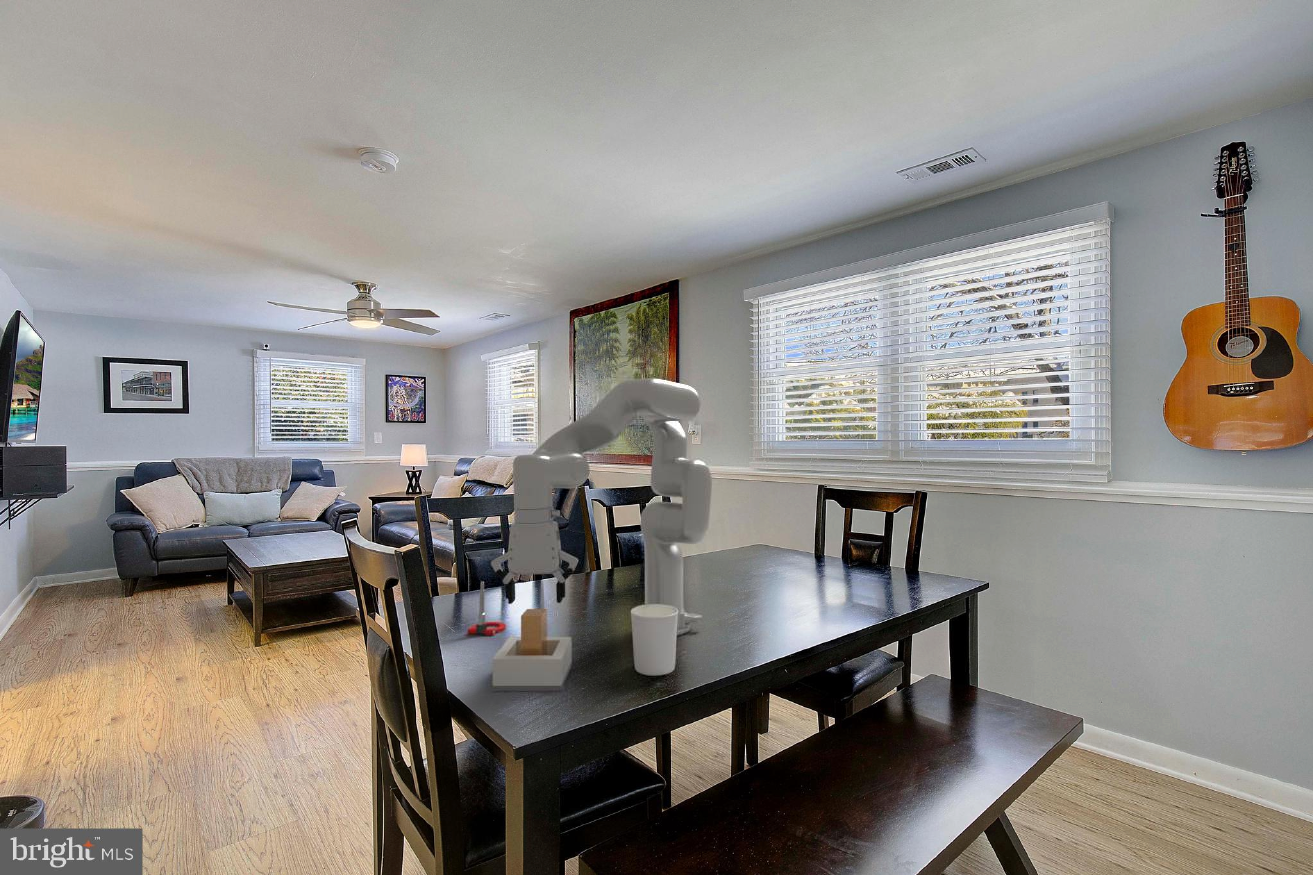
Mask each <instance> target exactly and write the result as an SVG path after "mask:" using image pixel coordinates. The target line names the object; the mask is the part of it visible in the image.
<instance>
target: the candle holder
mask: <svg viewBox="0 0 1313 875" xmlns="http://www.w3.org/2000/svg"><path fill="white" fill-rule="evenodd" d="M630 615H631V616H630V617H631V632H632V648H633V649H632V650H633V662H634V669H635V671H636V672H638V673H639V674H642V675H645V676H663V675H668V674H670V673H672V672H673V671H674V670H675V668H676V659H677V658H676V657H677V656H676V655H677V637H678V635H677V617H678V610H677V608H675V607H673V606H669V605H662V604H648V605H645V604H641V605H637V606H634V607H633V608H632V609H631V610H630Z"/></svg>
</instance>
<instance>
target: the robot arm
mask: <svg viewBox="0 0 1313 875" xmlns="http://www.w3.org/2000/svg"><path fill="white" fill-rule="evenodd" d="M700 408H701V399H700V396H699V394H698V392H697V391H696V389H694V388H693V387H691V386H690V385H687V384H683V383H679V382H674V381H671V380H666V379H661V378H653V377H650V378H649V377H648V378H638V379H627V380H623V381H621V382H619V383H617V384H616V385H615V386H614V387H613V388H612V389H611V390H610V391H609V392H608V393H607V394H606V395H605V396H604V397H603V398H602V399H601V400H600V401H599V402H598V403H597V404H596V405H595V406H594V407H593V408H592V409H591V410H590V412H588V413H587V414H586V415H585V416H582V417H581V418H578V419H577V420H575V421H573V422H572V423H570V424H569V425H567V426H565V427H563V428H561V429H559V430H558V431H557V432H555V433H554V434H552V435H550V437H548V438H547V439H546V440H545V441H544V442H543V443H542V444H541V445H540V446H539V447H538V448H537V449H536V450H535V451H534V452H533V453H532V454H521V455H517V456H515V458H514V459H513V461H512V475H513V479H512V480H513V481H512V482H513V515H514V516H513V517H514V521H513V522H512V523H511V526H510V529H509V537H508V551H507V552H505V553H504V554H501V555H499V557H496V558H494V559H493V560H491V562H490V564H491V567H492V568H493V570H494V572H495V575H496V576H497V577H498V578H499V579H500V580H501V581H502V583H503V584H504V587H505V588H504V592H505V594H504V595H505V600H506V599H507V604H508V605H512V604H513V603H514V602H515V601H516V582H515V579H514V577H515V576H516V575H548V574H550V575H551V574H552V575H553V576H554V577H555V578H556V580H557V582H556V585H555V587H556V588H555V590H556V603H557V604H561V603H562V601H563V599H564V598H566V580H567V579H569V577H570V576H571V575H572V574H573V573H574V571H575V570H576V567H577V565H578V562H579V559H578V558H577V557H575V556H573V555H571V554H569V553H567V552H565V551H563V550H562V547H561V537H560V530H559V526H558V522H557V521H554V519H555V518H559V517H560V516H561V510H559V509H555V508H554V506H553V489H554V488H555V489H559V488H560V489H574V488H578V487H580V486H582V485H584V483H585V482H586V481H587V480H588V478H589V476H590V464H589V461H588V460H587V458H586V457H584V456H583V455H582V454H584V453H587V452H591V451H594V450H598V449H601V448H604V447H606V446H608V445H611V444H612V443H614V442H615V441H616V440H618V439H619V437H620V436H621V435H622V434H623V433H624V431H625V430H626V429H627V428H628V427H629V426H630V425H631V424H632V423H633V422H634V420H635V419H637V418H638V417H641V418H642V419H643V420H644V422H645V423H646V424H647V426H648V428H649V430H650V431H651V436H652V438H653V445H652V446H653V447H652V448H653V449H652V460H651V468H650V469H651V471H650V487H651V490H652V492H653V493H655V494H656V495H658V496H663V497H669V498H679V499H681V498H682V502H681V503H679V502H670V501H656V502H652V503H649V504H648V505H647V506H645V508H644V509H643V510H642V512H641V514H640V520H639V521H640V530H641V536H642V540H643V546H644V605H648V604H662V605H669V606H673V607H675V608H677V610H678V617H677V636H680V635H683V634H686V633H688V632H689V631H690V630H691V629H690V627H691V626H690V623H691V624H693V623H694V624H702V623H703V618H702V617H703V615H702V614H697V613H692V612H691V613H688V612H686V611H685V608H684V558H683V557H684V556H683V552H682V550H681V547H680V546H679V544H685V545H697V544H699V543H701V542H703V540H704V539H705V537H706V536H707V532H708V528H709V524H710V522H709V521H710V512H711V501H712V499H711V498H712V490H713V489H712V488H713V486H712V485H713V480H712V473H711V471H710V469H709V467H708V465H707V464H706V463H705V462H703V461H702V460H699V459H696V458H694V459H691V458H687V454H688V451H687V450H688V449H687V448H688V439H687V435H686V432H685V430H684V428H683V427H682V425H681V424H680V422H689V421H691V420H693V419H695V418H696V416H697V415H699V412H700ZM505 561H507V567H508V568H507V569H508V572H507V571H506V570H505V569H504V568H503V567H502V563H503V562H505ZM563 561H565V562H566V563H568V564H569V566H568V567H567V569H566V570H565V571H563V569H562V568H561V566H562V562H563Z"/></svg>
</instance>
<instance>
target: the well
mask: <svg viewBox="0 0 1313 875" xmlns="http://www.w3.org/2000/svg"><path fill="white" fill-rule="evenodd" d="M571 668H572V637H571V636H547V656H521V636H520V637H519V636H517V637H516V636H515V637H513V636H509V637H508V639H507V640H506V641H505V642H504V644H503V645H502V647H500V649H499V650H498V652H497V653H496V654H495V656H494V657H493V658H492V692H562V691H563V688H564V685H565V683H566V680H567V678H568V675H569V674H570V670H571Z"/></svg>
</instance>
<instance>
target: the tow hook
mask: <svg viewBox="0 0 1313 875" xmlns="http://www.w3.org/2000/svg"><path fill="white" fill-rule="evenodd" d="M485 593H486V592H485V582H484V581H480V590H479V601H478V602H479V603H478V604H479V607H478V608H479V610H478V611H479V612H478V619H477V620H478V621H477V622H478V623H475V624H473V625H471V627H470V628H468V629H467V635H476V636H495V635H496V633H500V632H503V631H505V630H506V629H507V624H506V623H504V622H500V621H486V613H485V597H486V596H485ZM497 626H498V627H497ZM488 627H492V628H488Z"/></svg>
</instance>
